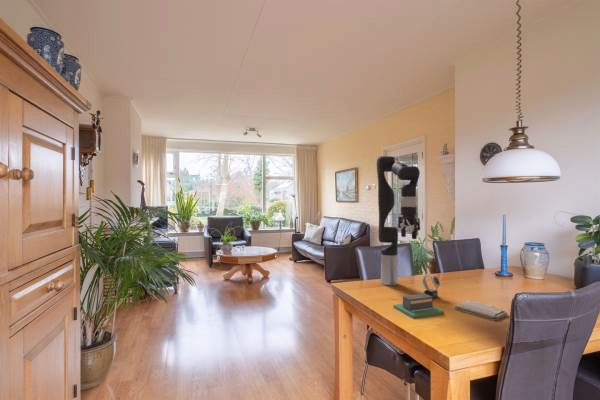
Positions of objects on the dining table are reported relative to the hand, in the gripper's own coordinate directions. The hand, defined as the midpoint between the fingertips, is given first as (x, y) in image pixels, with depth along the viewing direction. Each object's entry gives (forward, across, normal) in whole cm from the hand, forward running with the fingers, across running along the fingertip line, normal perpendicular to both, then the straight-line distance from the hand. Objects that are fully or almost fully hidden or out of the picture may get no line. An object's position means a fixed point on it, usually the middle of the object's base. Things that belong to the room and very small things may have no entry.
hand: (408, 237), depth 162 cm
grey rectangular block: (+29, +17, -8) cm, 34 cm away
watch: (+30, +3, +11) cm, 32 cm away
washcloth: (+31, +28, +16) cm, 44 cm away
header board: (+30, +17, -8) cm, 35 cm away
